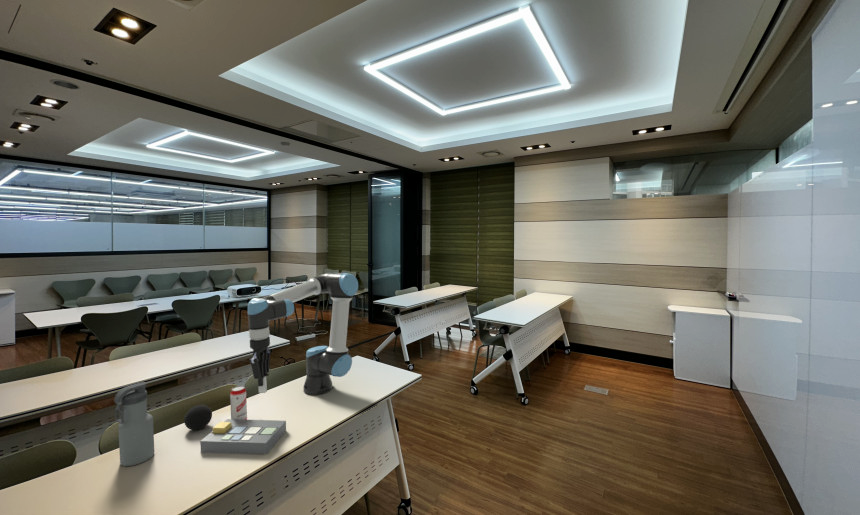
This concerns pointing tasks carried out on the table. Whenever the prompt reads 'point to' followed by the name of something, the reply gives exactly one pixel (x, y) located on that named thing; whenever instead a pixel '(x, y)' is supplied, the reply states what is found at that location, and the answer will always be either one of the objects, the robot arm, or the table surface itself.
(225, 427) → the key mustard
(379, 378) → the table surface
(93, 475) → the table surface
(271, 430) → the key sage
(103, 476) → the table surface
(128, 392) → the water bottle
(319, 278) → the robot arm
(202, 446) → the keypad
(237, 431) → the key slate
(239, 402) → the beer can
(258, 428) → the key ivory
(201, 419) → the speaker
